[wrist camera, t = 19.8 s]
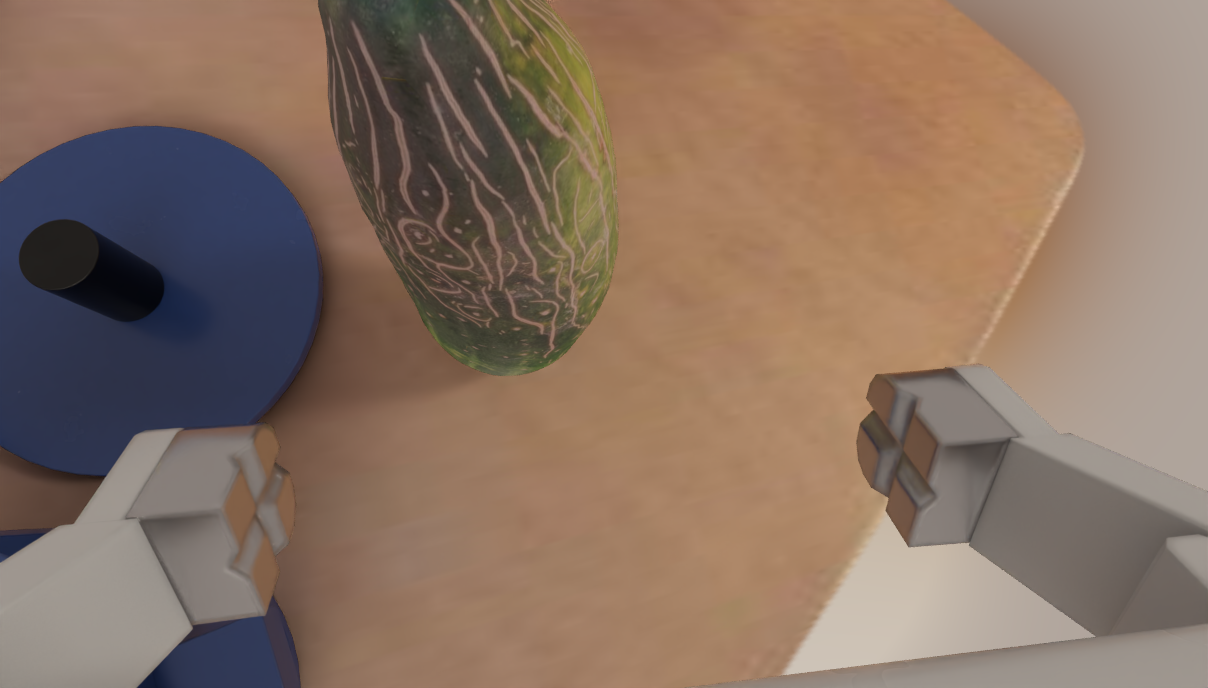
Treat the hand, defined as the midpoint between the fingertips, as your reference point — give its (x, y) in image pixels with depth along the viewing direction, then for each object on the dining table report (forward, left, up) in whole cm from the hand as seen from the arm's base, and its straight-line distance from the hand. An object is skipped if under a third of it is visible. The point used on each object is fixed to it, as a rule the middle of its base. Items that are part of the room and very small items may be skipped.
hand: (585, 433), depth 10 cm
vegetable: (+6, -1, -18) cm, 19 cm away
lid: (+12, +12, -17) cm, 25 cm away
